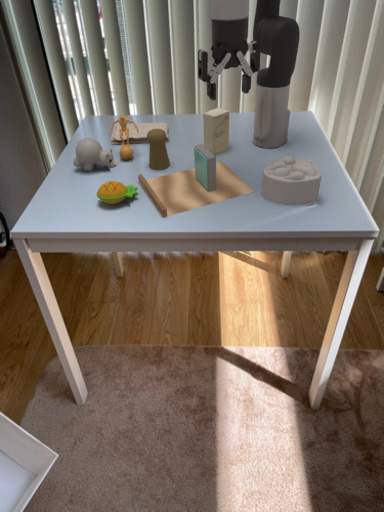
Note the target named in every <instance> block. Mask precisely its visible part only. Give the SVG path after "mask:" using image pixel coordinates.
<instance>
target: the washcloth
mask: <svg viewBox="0 0 384 512" xmlns="http://www.w3.org/2000/svg"><path fill="white" fill-rule="evenodd" d="M135 124H136V126H137V128H138V130H139V133H137V129H136V128H135V126H134V124H133V123H127V126H126V129H127V128H128V129H129V137H128V138H129V146H133V145H146V144H148V145H150V143H149V142H148V140H147V133H148V132H149V131H150V130H152V129H162V130H164V131H165V133H166V135H167V138H166V142H165V143H167V142H168V141H169V140H170V136H169V125H168V123H166V122H144V123H143V122H141V123H135ZM119 129H122V128H121V126H120V124H119V123H118V124H116V125H115V126H113V128H112V130H113V132H112V134H111V138H110V141H111V144H112V145H115V146H122V140H121V138H120V131H119ZM122 138H123V140H124V145H127V137H126V135H125V132H123V136H122Z"/></svg>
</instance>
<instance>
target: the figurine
mask: <svg viewBox="0 0 384 512" xmlns="http://www.w3.org/2000/svg"><path fill="white" fill-rule="evenodd" d="M117 123H118V125H119V124H120V126H121V128H122V129H119V131H120V138H121V140H122V145H121V147H120V149H119V151H118V152H119V153H118V154H119V156H120V158H121V159H123V160H130V159H132V158H133V157H134V149H133V148H132V147H131V145H129V138H128V137H129V129H128V128H127V129H126V126H127V124H128V123H130V124H134V126H135V128H136V129H137V133H139V130H138V128H137V126H136V124H137V123H136V122H135V121H134V120H132V119H129V117H126V116H125V115H121V116H120V117H119V118H117V119H116V120H114V121H113V122H112V123H111V126H110V128H109V135H111V136H112V134H111V133H112V130H113V128H114V124H117ZM123 132H125V135H126V137H127V145H124V140H123V138H122V136H123Z"/></svg>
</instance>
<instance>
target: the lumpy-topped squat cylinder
mask: <svg viewBox="0 0 384 512" xmlns="http://www.w3.org/2000/svg"><path fill="white" fill-rule="evenodd" d="M315 163H316V162H313V161H312V160H310V159H306V158H305V159H301V158H300V159H299V158H297V159H295V158H294V157H293V156H291V155H290V156H285V157H283V158H281V160H277V161H275V162H273V163H270V164H269V165H267V166H266V167H264V169H263V171H262V181H261V196H262V197H263V198H264V199H265V200H267V201H270V202H273V203H277V204H282V205H300V204H308V203H312V202H315V201H318V198H319V194H320V186H321V183H322V181H321V180H322V175H323V174H322V173H321V171H320V170H319V169H318V168H317V165H316V164H315ZM314 205H315V203H312V204H308V205H307V207H311V206H314Z"/></svg>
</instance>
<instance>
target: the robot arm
mask: <svg viewBox="0 0 384 512" xmlns="http://www.w3.org/2000/svg"><path fill="white" fill-rule="evenodd" d="M210 2H211V5H210V6H211V9H210V11H211V15H210V16H211V17H210V18H211V21H210V22H211V48H210V49H206V50H205V49H204V50H203V49H199V50H198V51H197V78H198V79H199V80H200V81H202V82H203V83H206V96H207V97H208V98H209V99H210V100H211V101H217V83H216V81H217V78H218V77H219V76H220V75H221V74H222V73H223V71H224V70H228V69H231V68H234V69H235V68H238V67H239V70H241V72H242V73H243V74H241V92H242V93H244V94H249V93H250V91H251V88H252V76H253V74H255V73H257V74H256V82H255V83H256V85H255V102H254V103H255V104H254V105H255V106H254V119H253V121H254V122H253V135H252V137H253V139H252V142H253V144H254V145H256V146H258V147H260V148H264V149H275V148H279V147H281V146H282V145H284V144H285V143H287V142H288V136H289V126H290V117H291V110H290V109H289V101H290V100H289V99H290V90H291V82H292V77H293V74H294V72H295V69H296V62H297V56H298V51H299V44H300V37H301V36H300V26H299V24H298V22H297V20H296V19H295V18H292V17H289V16H288V17H287V16H282V15H280V8H281V7H280V6H281V0H256V6H255V12H254V13H255V14H254V20H253V27H252V40H251V41H250V42H248V38H249V20H250V18H249V16H250V14H249V13H250V0H211V1H210ZM247 53H249V63H248V61H247V60H246V58H245V56H246V55H247ZM261 54H264V55H265V56H270V58H269V64H268V67H264V68H261ZM211 57H212V59H213V60H212V62H211V63H210V65H209V63H208V62H209V61H210V58H211ZM208 67H209V68H208ZM208 69H209V70H208Z"/></svg>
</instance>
